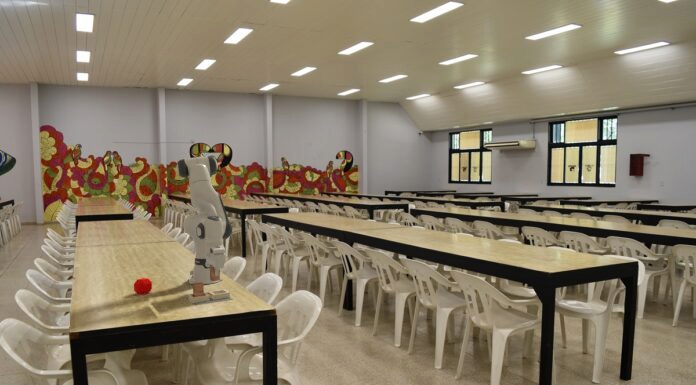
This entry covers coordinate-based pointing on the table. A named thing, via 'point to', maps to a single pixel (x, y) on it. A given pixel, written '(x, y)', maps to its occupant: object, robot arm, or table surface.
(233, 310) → the table surface
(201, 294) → the pin
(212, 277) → the terracotta pin
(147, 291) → the ball
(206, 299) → the board
